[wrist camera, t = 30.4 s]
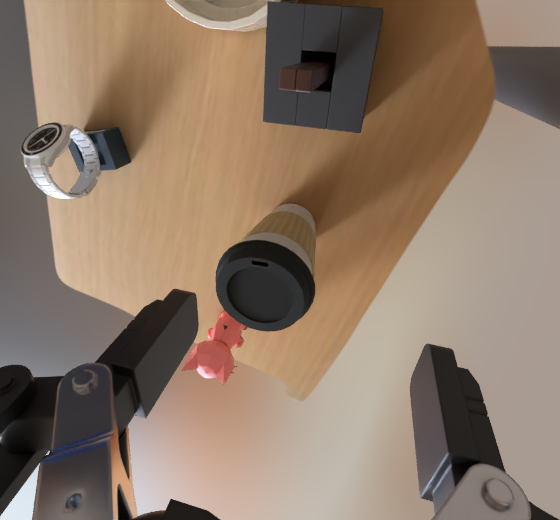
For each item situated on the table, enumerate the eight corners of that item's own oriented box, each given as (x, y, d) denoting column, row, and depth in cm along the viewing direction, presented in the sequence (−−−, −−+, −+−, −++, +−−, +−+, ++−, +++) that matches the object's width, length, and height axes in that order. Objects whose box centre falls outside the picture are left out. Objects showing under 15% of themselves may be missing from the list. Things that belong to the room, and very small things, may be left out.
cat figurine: (211, 326, 57) (177, 385, 47) (214, 295, 53) (178, 352, 43) (251, 339, 57) (225, 401, 47) (257, 308, 53) (230, 370, 43)
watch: (113, 110, 41) (39, 128, 32) (135, 175, 45) (76, 208, 36) (75, 115, 43) (-6, 133, 34) (100, 177, 47) (34, 209, 38)
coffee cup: (254, 252, 47) (211, 325, 35) (255, 184, 42) (205, 242, 30) (325, 264, 46) (306, 345, 33) (335, 194, 40) (317, 260, 28)
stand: (382, 15, 31) (383, 8, 25) (362, 119, 36) (360, 133, 30) (286, 9, 32) (267, 1, 26) (280, 110, 37) (262, 121, 31)
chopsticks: (337, 60, 33) (313, 70, 20) (335, 74, 34) (310, 92, 21) (317, 58, 34) (280, 67, 20) (315, 72, 34) (278, 89, 21)
